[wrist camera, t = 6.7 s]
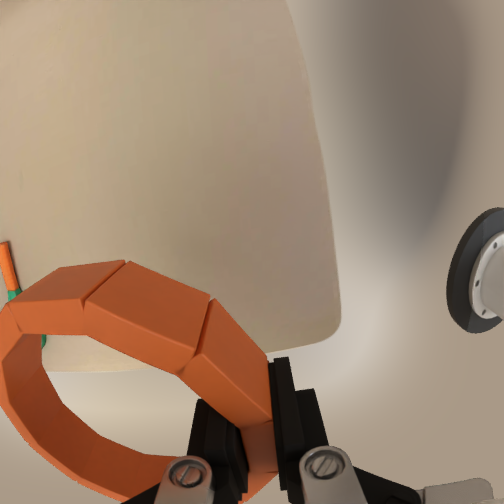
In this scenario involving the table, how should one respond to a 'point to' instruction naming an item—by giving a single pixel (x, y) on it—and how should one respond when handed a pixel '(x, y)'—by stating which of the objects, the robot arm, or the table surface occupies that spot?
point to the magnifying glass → (11, 276)
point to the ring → (141, 348)
